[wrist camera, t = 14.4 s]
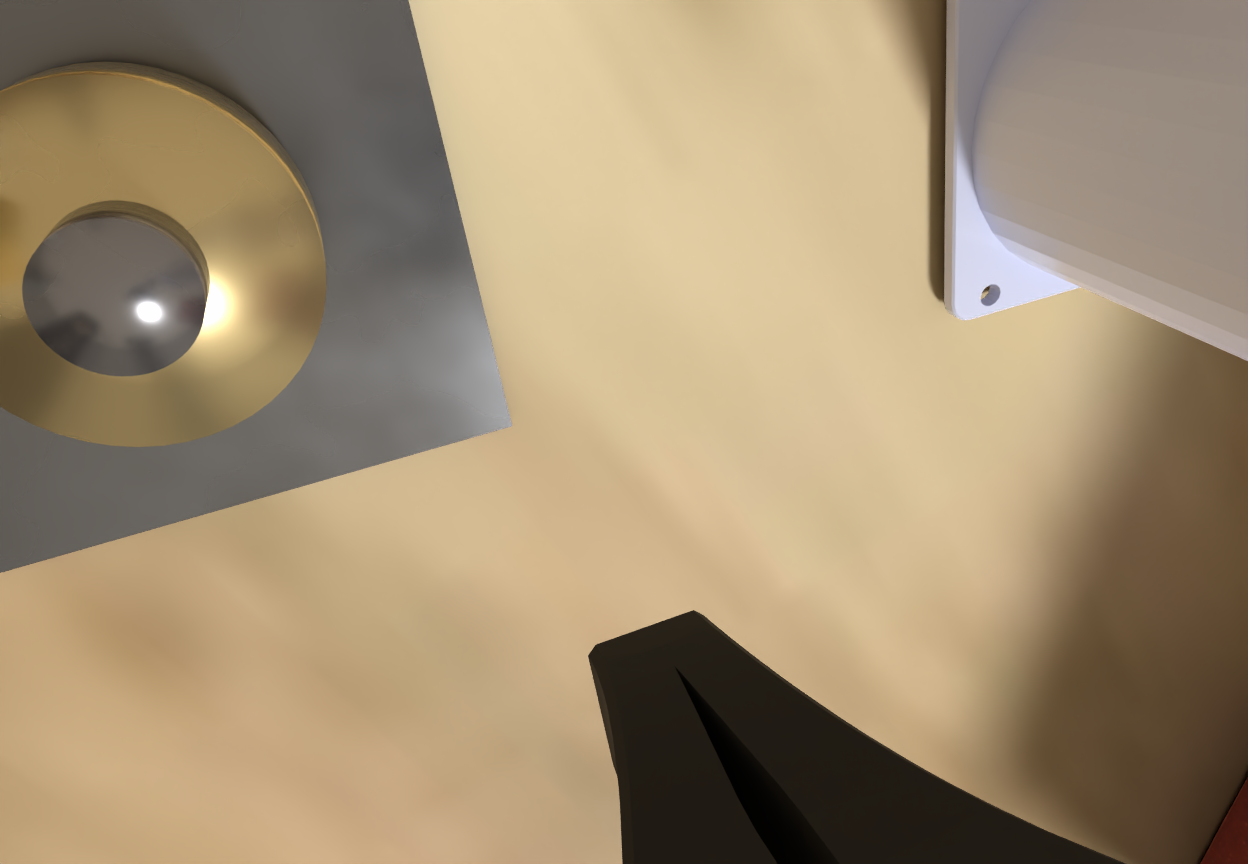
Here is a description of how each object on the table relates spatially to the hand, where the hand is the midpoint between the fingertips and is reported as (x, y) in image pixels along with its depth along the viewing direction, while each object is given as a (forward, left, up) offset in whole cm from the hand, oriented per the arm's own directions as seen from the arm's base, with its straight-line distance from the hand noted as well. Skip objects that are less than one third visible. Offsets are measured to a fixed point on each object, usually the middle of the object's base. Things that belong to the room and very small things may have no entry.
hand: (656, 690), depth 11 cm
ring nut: (+7, -5, -10) cm, 13 cm away
